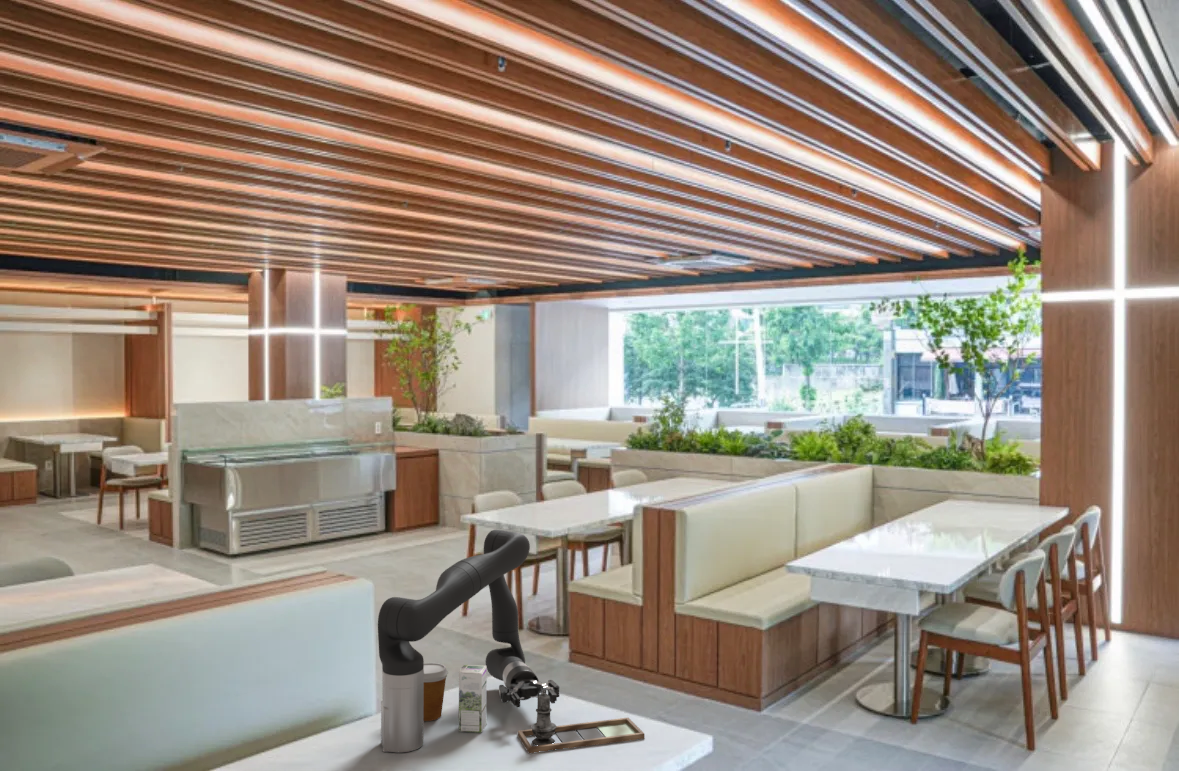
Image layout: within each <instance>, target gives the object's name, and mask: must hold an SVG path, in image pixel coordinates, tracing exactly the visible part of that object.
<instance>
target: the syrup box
mask: <svg viewBox="0 0 1179 771" xmlns="http://www.w3.org/2000/svg"><path fill="white" fill-rule="evenodd" d="M487 678H488V670H487V667H486V665H481V664H480V665H479V664H478V665H476V664H463V666H462V667H461V668H460V669H459V672H458V733H459V732H460V733H476V734H477V733H478V734H480V733H481V734H482V732H483V731H484V730H483V729H485V728H486V726H487V721H488V719H487V689H488V688H487V687H488V686H487V682H488V681H487V680H488V679H487ZM484 727H485V728H484Z"/></svg>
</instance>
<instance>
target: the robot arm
mask: <svg viewBox="0 0 1179 771" xmlns="http://www.w3.org/2000/svg"><path fill="white" fill-rule="evenodd" d="M530 544H531V543H530V541H529V539H528V538H527V536H525V535H524V534H522V533H520V532H517V531H508V530H503V529H493V530H490V531H489V532H488V533H487V535H486V537H485V539H484V542H483V553H482V554H477V555H473V556H469V557H466V558H463V559H461V560H459V561H457V562H455V563H453V564H452V565H451V566H449V567H448V568H446V569H445V570H444V571H443V572H442V573H441V574H440V575H439V577H438V579H437V582H436V587H435V591H433V592H432V593H430V594H429V595H428V596H426V597H424V598H420V599H413V598H405V597H396V596H393V597H389V598H387V599H386V600H385V601H384V602H383V604H382V605H381V607H380V609H379V613H378V618H377V636H378V637H377V640H378V642H377V643H378V656H379V660H380V663H381V665H382V666H381V668H382V670H381V672H382V674H381V675H382V680H381V681H382V683H381V684H382V688H381V689H382V690H381V696H382V697H381V698H382V699H381V702H380V705H381V706H380V708H381V709H380V712H381V713H380V733H381V734H380V742H381V747H382V748H381V749H382V751H383V752H385V753H386V752H390V753H408V752H412V751H416V750H417V749H420V748H422V746H423V745H424V738H425V737H424V721H423V714H424V663H425V662H424V661H425V660H424V656H423V654H422V653H421V652H419V651H418V650H417V649H415V648H414V647H413V646H412V644H411V642H418V641H420V640H423V639H424V638H425V637H426V636H427V635H428V634H430V632H432V631H433V630H434V629H435V628H436V627H437V626H438V625H439V624H440V623H441V622H442V621H443V620H444V619H445V618H446V617H447V616H449V615H450V614H451V613H453V611H455V610H457V609H458V608H459V607H460V606H462V605H463V604H464V603H465V602H468V601H469V600H470V599H472V598H473V597H475V596H476V595H477V594H478V593H480V592H481V591H482V590H483V589H485V587H486V588H487V586H488V588H489V593H490V594H489V595H490V601H491V627H492V628H491V633H492V638H493V640H494V641H495V642H498V643H502V644H510V646H508V647H500V648H495V649H492V650H490V651H489V652H488V653H486V657H485V666H486V667H487V673H489V675H490V676H491V677H493V678H494V679H496V680H499V681H502V682H503V683H504V684H499V685H498V696H499V698H500V701H501V703H503V704H507V703H508V702H509V703H510V704H512V705H513V706H515V707H516V708H521V701H527V700H530V699H531V698H537V699H538V696H539V695H540V694H542V693H543V692H542V691H543V690H544V691H545V693H546V694H548V695H549V696H550V704H556V702H557V701H558V700H557V698H560V685H559V684H558V683H557V682H555V681H554V680H553V679H549V680H548V681H547V683H545V682H544V683H543V682H541V681H539V678H538V677H537V675H536V673H535V672H534V671H533V670H532V669H531V667H530V666H529V665H527V664H526V658H525V654H524V651H523V647H522V644H521V641H520V635H519V611H518V606H517V603H516V600H515V598H514V595H513V594H512V592H511V589H510V587H509V585H508V582H507V581H506V577H505V575H506V574H508V573H509V572H511V571H513V570H515V569H517V568H519V567H520V566H521V565H522V564H523V563H524V562H526V559H528V556H529V554H530V547H531V545H530Z"/></svg>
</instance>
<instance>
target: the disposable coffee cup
mask: <svg viewBox="0 0 1179 771" xmlns="http://www.w3.org/2000/svg"><path fill="white" fill-rule="evenodd" d="M448 674H449V670H447V666H446V665H445V664H443V663H438V662H424V714H423V722H431V721H436V720H438V718H439V719H440V718H442V714H443V712H442V711H443V704H444V697H445V696H444V695H445V689H446V679H447V677H448Z"/></svg>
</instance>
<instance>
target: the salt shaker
mask: <svg viewBox="0 0 1179 771" xmlns="http://www.w3.org/2000/svg"><path fill="white" fill-rule="evenodd" d="M542 692H543V693H542V694H541V693H540V695H539V696H538V698H537V706H536V707H537V708H535V712H536V722H535V723H532V724H531V725H530V729H532V732H533V734H534V735H533V736H534V737H535V738H534V739H532V741H531V744H532V743H533V744H532V745H534V744H535V745H546V744H552V743H554V742H555V743H556V740H555V739H554V738H552V737H553V736H554V735H555V733H554V732H555V729H556V726H557V725H556V724H555V723H553V722H552V720H551V713H552V710H553V709H552V708H551V702H550V696H549V695H548V693H547V692H546V693H545V691H544V690H543V691H542ZM535 745H534V746H535Z"/></svg>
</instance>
